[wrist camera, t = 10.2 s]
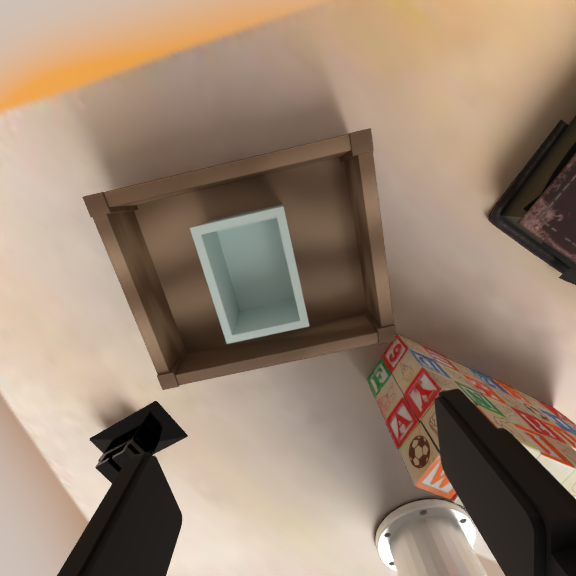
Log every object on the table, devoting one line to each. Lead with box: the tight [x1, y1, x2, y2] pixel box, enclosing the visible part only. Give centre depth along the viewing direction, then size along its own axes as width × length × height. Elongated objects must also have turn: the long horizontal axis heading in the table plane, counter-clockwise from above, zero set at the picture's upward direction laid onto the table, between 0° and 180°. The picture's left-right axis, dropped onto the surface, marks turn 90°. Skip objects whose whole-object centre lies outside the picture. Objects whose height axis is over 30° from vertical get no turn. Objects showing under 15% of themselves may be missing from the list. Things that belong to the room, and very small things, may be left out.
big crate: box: [83, 128, 396, 390], centre depth 25 cm, size 16×20×5 cm
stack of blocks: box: [367, 334, 576, 506], centre depth 27 cm, size 21×6×12 cm, turn 64°
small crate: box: [190, 204, 309, 344], centre depth 24 cm, size 9×6×6 cm
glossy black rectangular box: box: [90, 401, 188, 484], centre depth 31 cm, size 12×7×5 cm, turn 121°
